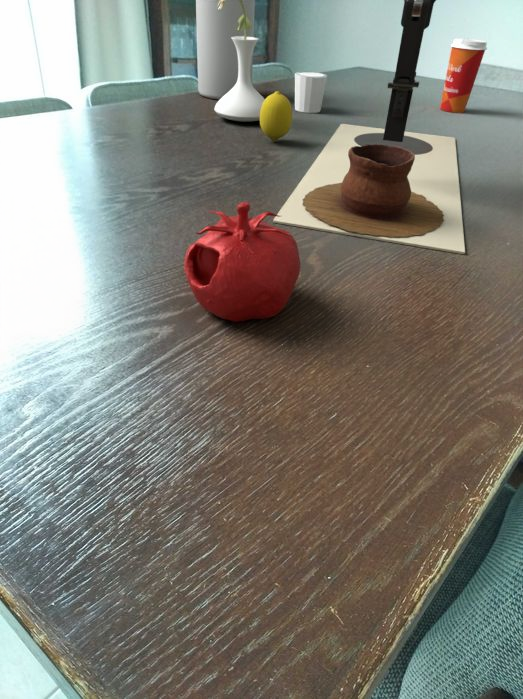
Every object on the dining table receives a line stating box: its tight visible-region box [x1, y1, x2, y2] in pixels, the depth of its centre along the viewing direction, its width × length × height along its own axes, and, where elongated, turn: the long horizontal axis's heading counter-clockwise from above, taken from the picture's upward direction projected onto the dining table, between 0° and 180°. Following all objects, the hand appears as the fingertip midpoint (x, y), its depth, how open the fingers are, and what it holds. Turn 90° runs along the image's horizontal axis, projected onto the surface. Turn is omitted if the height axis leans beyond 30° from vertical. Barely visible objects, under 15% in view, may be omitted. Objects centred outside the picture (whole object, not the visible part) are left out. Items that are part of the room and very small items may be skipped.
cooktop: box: [272, 123, 466, 255], centre depth 76 cm, size 22×52×1 cm, turn 164°
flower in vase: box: [214, 0, 266, 123], centre depth 90 cm, size 13×11×25 cm
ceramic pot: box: [303, 144, 444, 237], centre depth 61 cm, size 18×18×7 cm
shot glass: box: [294, 71, 328, 114], centre depth 106 cm, size 7×7×7 cm
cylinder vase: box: [195, 0, 256, 101], centre depth 108 cm, size 12×12×25 cm
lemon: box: [259, 90, 293, 143], centre depth 84 cm, size 6×6×8 cm
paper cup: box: [439, 38, 488, 114], centre depth 112 cm, size 8×8×14 cm
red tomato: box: [183, 201, 301, 323], centre depth 42 cm, size 10×10×9 cm
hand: (393, 139), depth 70 cm, fingers closed
